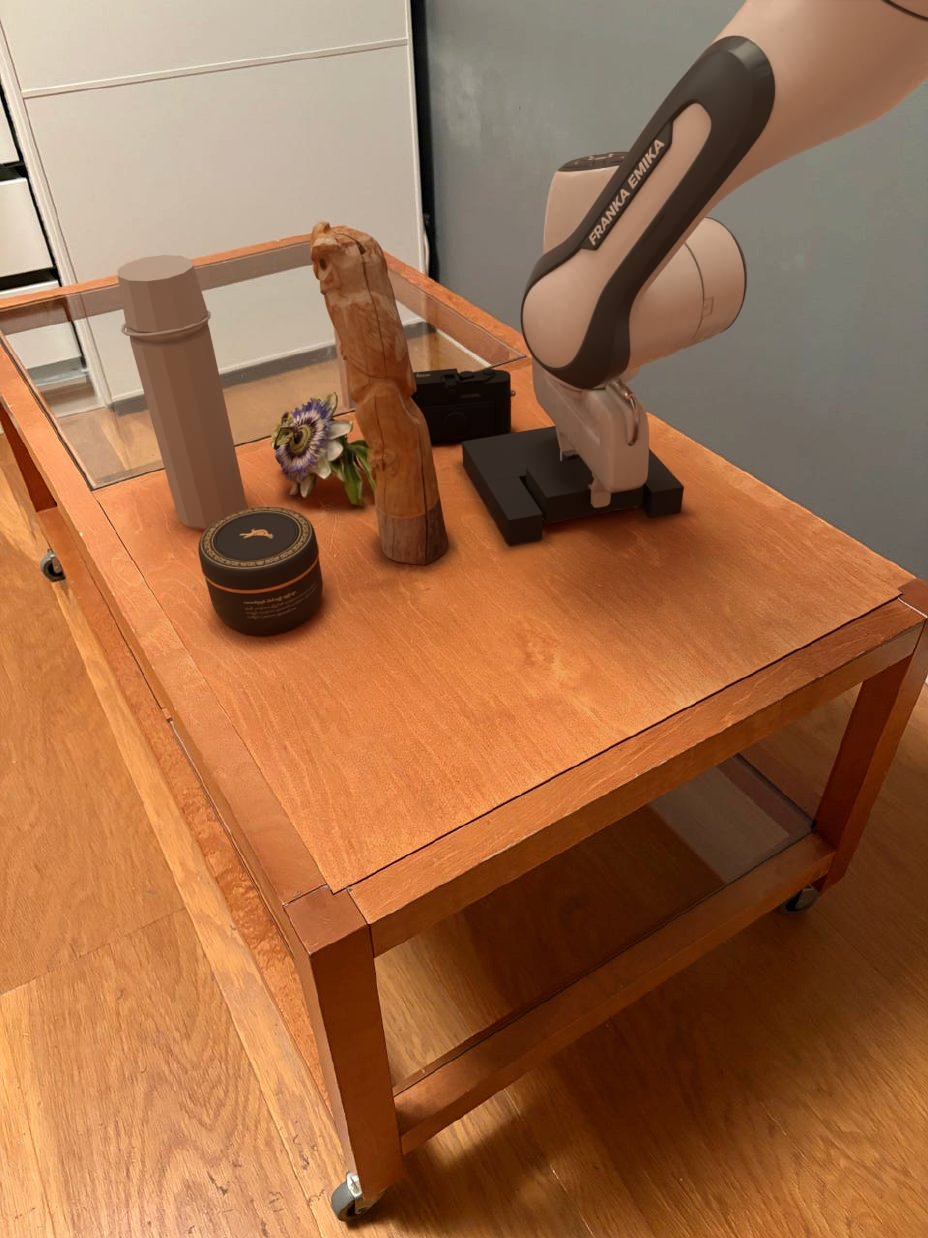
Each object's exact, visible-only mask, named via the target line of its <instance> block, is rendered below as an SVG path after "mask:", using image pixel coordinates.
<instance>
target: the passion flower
mask: <svg viewBox="0 0 928 1238" xmlns="http://www.w3.org/2000/svg"><path fill="white" fill-rule="evenodd" d="M338 397H339V396H338V395H337V391H332V392H329V394H327V395H326V398H325V399H323V398H322V397H320V396H317V397H316V398H314V397H310V399H309V400H310V401H307V402H306V404H304V403H302V404H301V407H302V408H301V409H299V407H298V406H296V407H295V408H294V412H293V411H291V410H290V411H287V410H286V411H285V412H284V413H283V414H282V415H281V417H280V419H279V420H278V421H277V422H276V424H275V429H274V432H273V433H272V434H271V435H270V436H271V437H270V438H271V439H272V441H271V442H270V447H271V448H272V449H273V450H274V451H275V456H274V458H275V460H276V462H277V463H278V465H279V466H280V469H282V470H281V471H282V472H281V475H282V476H285V478H286V480H288V481H290V482H292V484H291V489H290V492H289V495H290V496H298V495H299V494H301V496H302V498H304V499H307V498H308V497H310V496H311V495H312V494H313V492H314V490H315V488H316V485H317V479H318V477H319V478H320V479H322V480H323V481H327V480H328V479H330V478H331V477H332V476H333V474H334V475H335V477H336V478H337V479H338V480H339V481H341V482H342V485H343V488H344V491H345V493H346V496H347V499H348V501H349V502H350V504H351V505H352V506H358V507H359V508H363V506H364V503H363V502H364V501H363V496H364V482H363V481H364V480H363V478H362V476H361V474H360V472H359V470H360V471H361V472H364V471H365V473H366V478H367V481H368V482H369V485H370V488H371V490H372V493H373V494H374V491H375V485H376V483H375V482H374V480H373V479H372V476H371V473H370V469H369V466H368V461H367V457H368V451H370V450H371V448H370V447H369V446H368V444H367V443H366V441H365V439H364V438H363V439H355V440H353V441H352V442H349V441H348V434H350V433H352V431H353V430H354V422H353V421H352V420H351V419H350V420H349V419H339V420H338V419H335V418H334V414H335V413H336V410H337V408H338V404H339V403H338V402H339V398H338ZM362 467H363V468H362Z"/></svg>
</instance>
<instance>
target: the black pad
mask: <svg viewBox="0 0 928 1238" xmlns="http://www.w3.org/2000/svg"><path fill="white" fill-rule="evenodd" d="M593 481H594V478H593V476H592V471H591V470H590V469H589V467H588V466H587V465H586V463H585V462H584V461H583V460H582V458H581V457H580V458H574V459H569V460H563V461H557V462H552V463H546V464H541V465H535V466H530V467H526V489H527V491H528V492H529V494H530V495H531V497H532V498H533V500H534V501H535V503H536V504H537V506H538V507H539V509H540V510H541V512H542V514H543V519H542V521H543V522H544V523H545V524H546V525H547V524H553V523H558V522H563V521H568V520H573V519H578V518H584V517H589V516H593V515H600V514H605V513H609V512H614V511H620V510H626V509H630V508H635V507H640V506H641V505H642V500H643V490H644V484H643V485H642V486H641V487H640V488H636V489H632V490H627V491H622V492H615V493H611V498H610V503H609V504H608V505H607V506H604V507H599V508H595V507H593V506H592V504H591V503H590V501H589V500H588V498H587V496H588V485H591V484H593Z"/></svg>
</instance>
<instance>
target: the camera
mask: <svg viewBox="0 0 928 1238" xmlns="http://www.w3.org/2000/svg"><path fill="white" fill-rule="evenodd" d="M413 373H414V378H415V383H416V388H417V390H416V392H415V393H414V394H412V395H411V399H412V400H413V401H414V402H415V404H416V405H417V406H418V408H419V409H420V411H421V412H422V413H423V415H424V418H425V420H426V423H427V427H428V431H429V436H430V442H431V447H432V446H434V447H435V446H444V445H453V444H462V442H463V441H469V440H475V439H481V438H487V437H493V436H498V435H504V434H510V433H512V397H516V395H517V392H516V390H514V389H512V378H511V376H512V375H511V373H510V372H509V371H507V370H503V369H495V368H492V367H486V368H483V369H482V370H480V371H471V370H462V371H461V372H459V371H458V369H457V368H456V367H453V368H446V369H445V368H444V369H435V370H424V371H413Z"/></svg>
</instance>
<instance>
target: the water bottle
mask: <svg viewBox="0 0 928 1238" xmlns="http://www.w3.org/2000/svg"><path fill="white" fill-rule="evenodd" d="M116 270H117V271H116V272H117V280H118V281H117V282H118V285H119V292H120V299H121V304H122V310H123V315H124V321H125V322H124V323H123V324H122V325H121V327H120V332H121V333H122V334H124V335H125V336H128V337H129V343H130V346H131V350H132V353H133V357H134V361H135V365H136V369H137V371H138V375H139V380H140V383H141V387H142V391H143V394H144V398H145V402H146V405H147V409H148V412H149V417H150V419H151V424H152V427H153V430H154V434H155V438H156V442H157V445H158V449H159V453H160V457H161V461H162V464H163V468H164V472H165V475H166V479H167V482H168V486H169V490H170V494H171V497H172V500H173V504H174V508H175V509H174V510H175V512H176V515H177V520H178V521H179V522H181V523H182V524H184V525H185V526H187V527H188V528H190V529H192V530H197V531H198V530H199V531H206V529H207V528H208V527H209V526H211V525H212V524H213V523H214V522H216V521H217V520H219V519H221V518H222V517H224V516H226V515H229V514H231V513H234V512H237V511H240V510H244V509H248V504H247V498H246V494H245V488H244V484H243V480H242V475H241V470H240V466H239V460H238V456H237V451H236V447H235V441H234V437H233V433H232V429H231V428H232V427H231V423H230V419H229V415H228V409H227V405H226V401H225V395H224V391H223V386H222V382H221V377H220V372H219V367H218V363H217V359H216V353H215V349H214V344H213V339H212V334H211V330H210V326H209V321H210V319H211V317H212V316H211V315H212V312H211V311H209V310H208V308H207V304H206V301H205V298H204V295H203V291H202V288H201V285H200V282H199V278H198V276H197V273H196V269H195V266H194V263H193V260H192V259H190V258H188V257H185V256H182V255H172V254H171V255H170V254H169V255H168V254H167V255H166V254H162V255H154V256H145V257H141V258H139V259H135V260H132V261H129V262H126V263H125V264H124V265H122V266H121V267H119V268H118V269H116Z"/></svg>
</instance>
